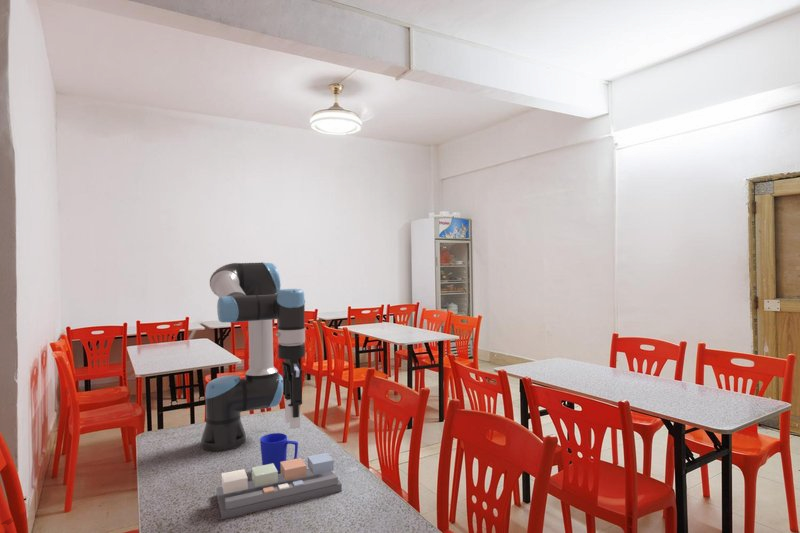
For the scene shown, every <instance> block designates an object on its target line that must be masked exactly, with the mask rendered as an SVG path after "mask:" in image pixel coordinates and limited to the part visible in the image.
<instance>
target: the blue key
mask: <svg viewBox="0 0 800 533" xmlns="http://www.w3.org/2000/svg"><path fill="white" fill-rule="evenodd" d="M334 466H335V464H334V459H333V457H332V456H331V455H330V454H329V453H328V452H324V453H319V454H314V455H308V456H307V467H308V468H307V469H310V471H311V472H312V473H313V475H315V474H319V473H324V472H329V471H332V472H333V471H334Z"/></svg>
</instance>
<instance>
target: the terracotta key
mask: <svg viewBox="0 0 800 533" xmlns="http://www.w3.org/2000/svg"><path fill="white" fill-rule="evenodd" d="M306 469H307V464H306V463H305V461H304V460H303V459H302V458H301V457H299V458H298V457H297V458H296V459H294V458H293V459H289V460H288V459H286V461H282V462H280V470H281V471H280V475H281V474H282V476H283V478H284V479H285V481H287V480H291V479H296V478H301V477H305V476H307V474H306Z"/></svg>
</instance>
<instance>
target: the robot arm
mask: <svg viewBox="0 0 800 533" xmlns="http://www.w3.org/2000/svg"><path fill="white" fill-rule="evenodd" d="M281 284H282V283H281V277H280V273H279V270H278V267H277V266H276V265H275V264H274V263H272V262H264V261H262V262H231V263H227V264H224V265H222V266H220V267H218V268H217V269H216V270H214V272H212V274H211V275H210V278H209V287H210V290H211V292H212V293H213V294H214V295H215V296H217V297H218V300H217V306H216V308H217V309H216V310H217V319H218V321H219V322H220V323H230V324H232V323H233V324H234V323H238V322H239V323H241V322H248V355H249V356H248V358H249V359H248V360H249V368H248V370H247V371H246V372H245V374H244V375H245V378H241V377H240V376H239V375H237V374H230V375H223V376H219V377H216V378H214V379H212V380H210V381H209V382H208V383H207V384H206V386H205V395H204V398H205V426H204V429H203V431H202V436H201V440H200V447H201V449H203V450H204V451H209V452H222V451H228V450H233V449H236V448H238V447H240V446H243V445H244V444H245V443H246V441H247V438H246V437H247V436H246V435H247V434H246V431H245V428H244V426H243V423H242V421H241V413H242V412H243V413H244V412H250V411H257V410H262V409H269V408H274V407H277V406H278V405H279V404H280V403H281V402H282V398H283V396H284V404H285V405H284V407H285V408H284V412H285V413H284V414H285V415H284V416H285V418H284V419H285V424H287V423H289V429H290V430H293V429H300V428H301V405H303V380H302V379H303V369H302V368H301V363H300V362H299V360H300V359H302V358H304V357H305V356H306V344H305V342H306V326H305V325H306V324H305V322H306V321H305V318H306V317H305V306H306V304H305V303H306V300H305V292H304V290H303V289H302V288H283V289H282V288H281ZM273 320H277V332H275V336H276V337H277V343H278V345H277V356H278V358H279V359H281V360H283V361H282V363H281V365H282V375H281V374H280V373H279V371H278V369H277V368H276V367H275V366H274V337H273V336H274V334H273V332H274V331H273Z"/></svg>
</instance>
